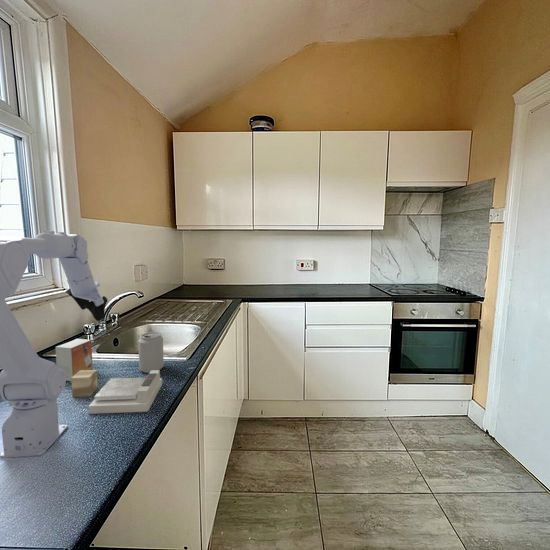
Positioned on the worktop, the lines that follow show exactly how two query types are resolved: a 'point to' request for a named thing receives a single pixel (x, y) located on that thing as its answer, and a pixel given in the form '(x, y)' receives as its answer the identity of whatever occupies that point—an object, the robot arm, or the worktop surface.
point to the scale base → (139, 404)
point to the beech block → (84, 383)
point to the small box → (74, 357)
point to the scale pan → (120, 389)
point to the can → (150, 352)
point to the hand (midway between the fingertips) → (92, 313)
